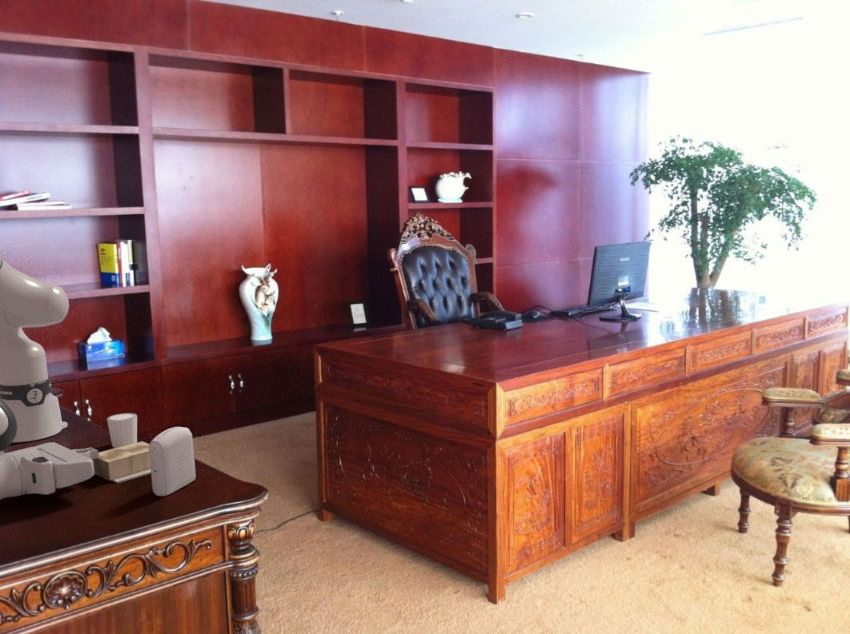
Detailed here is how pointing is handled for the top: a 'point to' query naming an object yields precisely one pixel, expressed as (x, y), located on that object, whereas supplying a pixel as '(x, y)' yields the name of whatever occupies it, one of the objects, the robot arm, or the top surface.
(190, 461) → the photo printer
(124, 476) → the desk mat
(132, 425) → the white tapered cup
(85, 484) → the top surface
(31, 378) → the robot arm
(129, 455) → the oak block
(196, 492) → the top surface
